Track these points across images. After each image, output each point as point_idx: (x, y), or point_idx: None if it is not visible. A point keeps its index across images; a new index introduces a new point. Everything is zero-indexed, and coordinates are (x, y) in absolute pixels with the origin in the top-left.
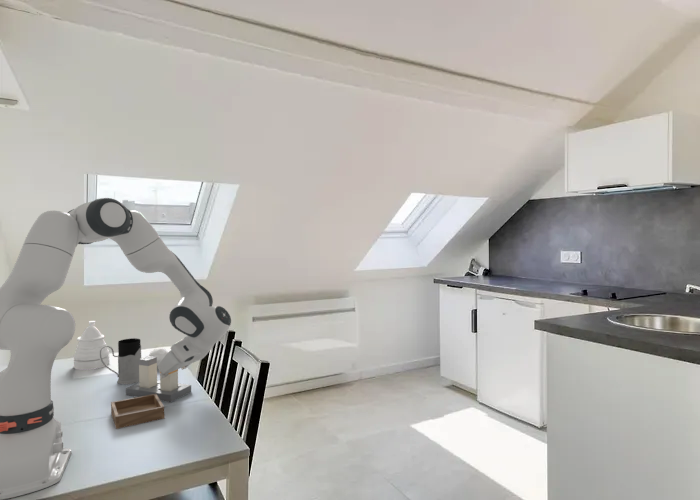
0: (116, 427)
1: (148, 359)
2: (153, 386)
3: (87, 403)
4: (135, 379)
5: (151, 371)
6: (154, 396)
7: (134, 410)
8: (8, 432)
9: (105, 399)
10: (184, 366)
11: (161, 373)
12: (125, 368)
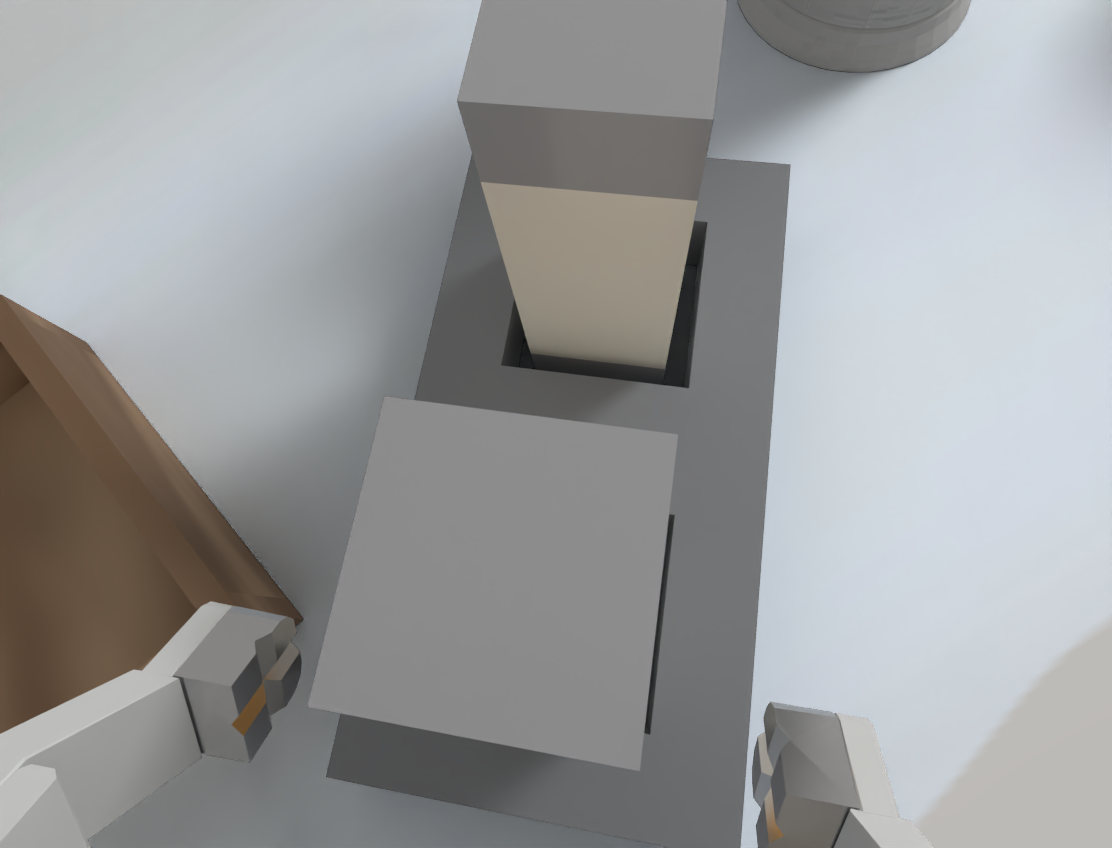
0: None
1: (514, 74)
2: (573, 375)
3: (283, 40)
4: (822, 29)
5: (565, 255)
6: None
7: (44, 546)
8: None
9: (376, 101)
10: (766, 842)
11: (181, 639)
12: None
